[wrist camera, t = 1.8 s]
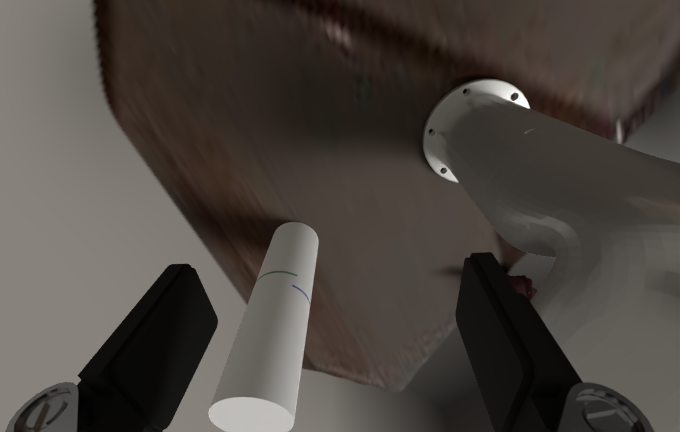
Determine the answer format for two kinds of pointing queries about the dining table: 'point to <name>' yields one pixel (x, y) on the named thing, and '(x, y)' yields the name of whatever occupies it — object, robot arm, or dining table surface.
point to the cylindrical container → (270, 339)
